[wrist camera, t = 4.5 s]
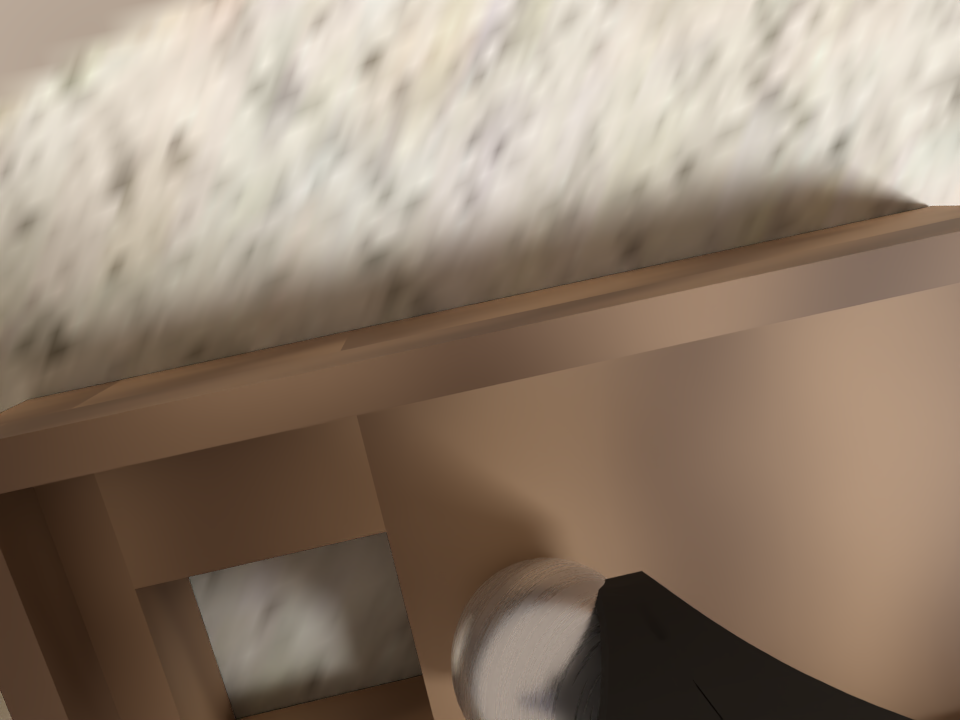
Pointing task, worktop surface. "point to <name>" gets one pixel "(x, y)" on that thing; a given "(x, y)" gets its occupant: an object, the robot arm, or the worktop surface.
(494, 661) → the ball
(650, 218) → the worktop surface
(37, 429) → the board
